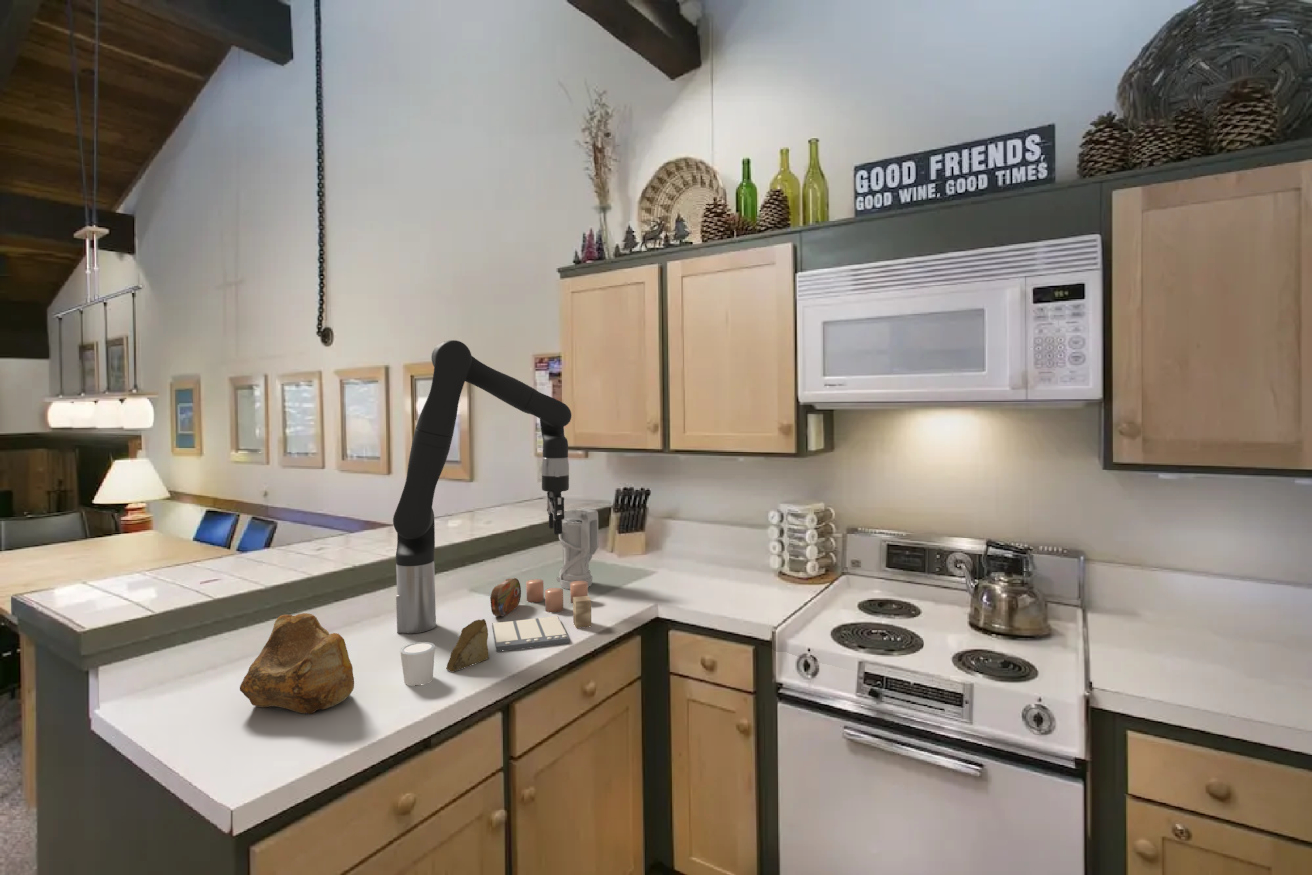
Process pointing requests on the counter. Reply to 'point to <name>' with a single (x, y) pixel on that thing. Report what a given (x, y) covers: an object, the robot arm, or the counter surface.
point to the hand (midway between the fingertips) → (555, 531)
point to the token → (582, 611)
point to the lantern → (578, 545)
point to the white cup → (418, 663)
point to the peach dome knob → (554, 600)
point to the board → (529, 633)
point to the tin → (505, 597)
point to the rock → (470, 646)
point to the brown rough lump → (300, 667)
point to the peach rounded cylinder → (535, 590)
